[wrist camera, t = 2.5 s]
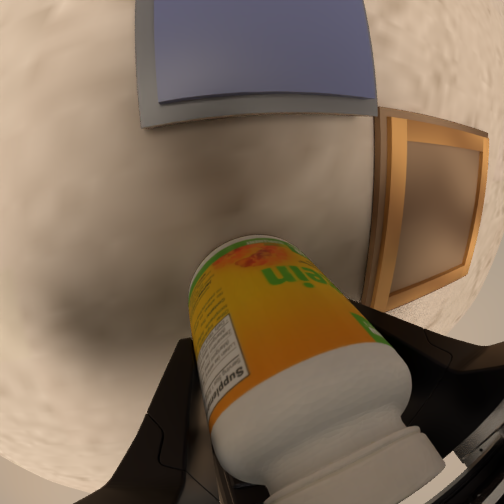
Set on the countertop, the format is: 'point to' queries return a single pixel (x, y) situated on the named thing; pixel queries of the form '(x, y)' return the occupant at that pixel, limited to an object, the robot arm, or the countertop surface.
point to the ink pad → (252, 59)
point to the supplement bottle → (301, 382)
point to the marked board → (422, 206)
